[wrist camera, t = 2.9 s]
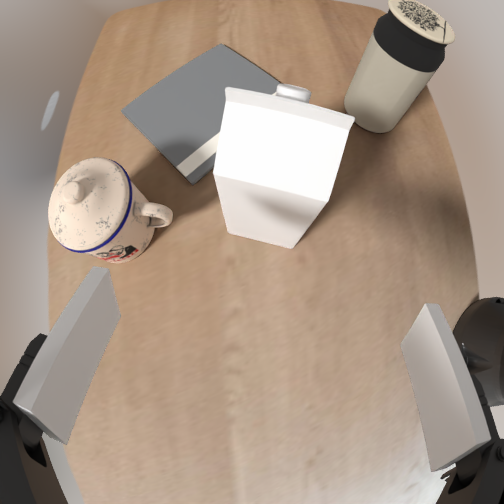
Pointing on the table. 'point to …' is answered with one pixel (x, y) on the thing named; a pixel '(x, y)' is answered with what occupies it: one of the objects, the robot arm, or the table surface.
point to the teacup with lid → (103, 212)
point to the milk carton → (277, 162)
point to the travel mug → (397, 64)
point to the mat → (194, 108)
